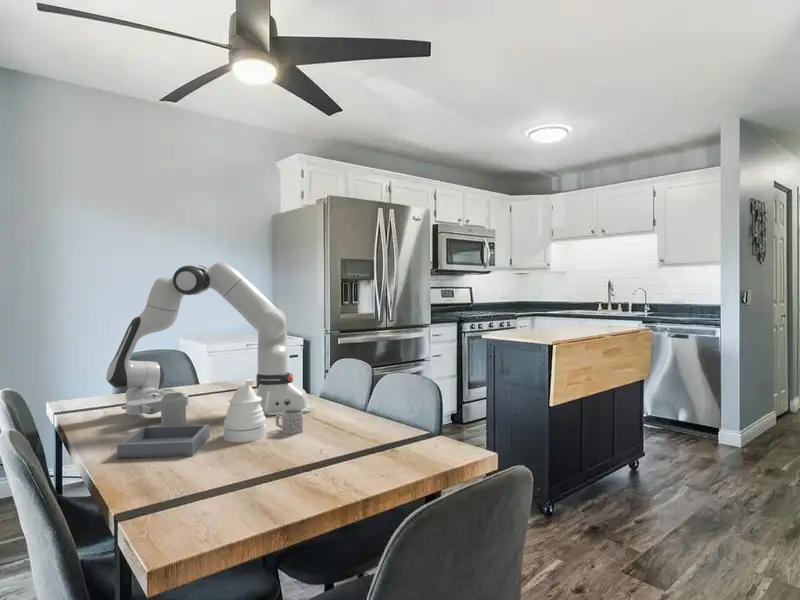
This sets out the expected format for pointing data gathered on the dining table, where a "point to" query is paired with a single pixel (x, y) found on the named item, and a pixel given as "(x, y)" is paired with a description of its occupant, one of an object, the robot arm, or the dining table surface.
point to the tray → (163, 441)
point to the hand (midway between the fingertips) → (166, 407)
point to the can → (173, 410)
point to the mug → (290, 421)
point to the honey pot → (245, 416)
